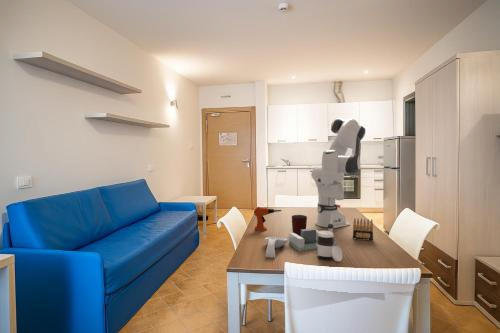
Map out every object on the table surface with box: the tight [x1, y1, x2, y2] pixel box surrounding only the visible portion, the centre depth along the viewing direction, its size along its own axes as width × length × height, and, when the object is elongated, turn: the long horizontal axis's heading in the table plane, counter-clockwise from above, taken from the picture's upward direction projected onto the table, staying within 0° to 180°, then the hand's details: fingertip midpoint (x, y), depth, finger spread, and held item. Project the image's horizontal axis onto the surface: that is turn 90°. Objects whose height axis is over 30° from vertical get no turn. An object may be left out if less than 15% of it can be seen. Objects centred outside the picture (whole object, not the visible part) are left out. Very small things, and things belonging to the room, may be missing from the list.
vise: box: [288, 232, 337, 252], centre depth 153 cm, size 22×11×6 cm, turn 109°
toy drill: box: [253, 206, 282, 232], centre depth 180 cm, size 5×19×15 cm, turn 67°
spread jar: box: [316, 230, 343, 262], centre depth 135 cm, size 12×11×12 cm
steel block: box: [301, 228, 317, 244], centre depth 152 cm, size 8×3×7 cm, turn 109°
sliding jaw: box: [316, 224, 335, 240], centre depth 156 cm, size 10×11×9 cm
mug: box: [291, 214, 308, 237], centre depth 173 cm, size 12×9×11 cm
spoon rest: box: [264, 236, 288, 259], centre depth 147 cm, size 24×12×7 cm, turn 168°
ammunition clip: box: [352, 217, 374, 241], centre depth 162 cm, size 11×2×12 cm, turn 72°
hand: (330, 205), depth 157 cm, fingers closed
